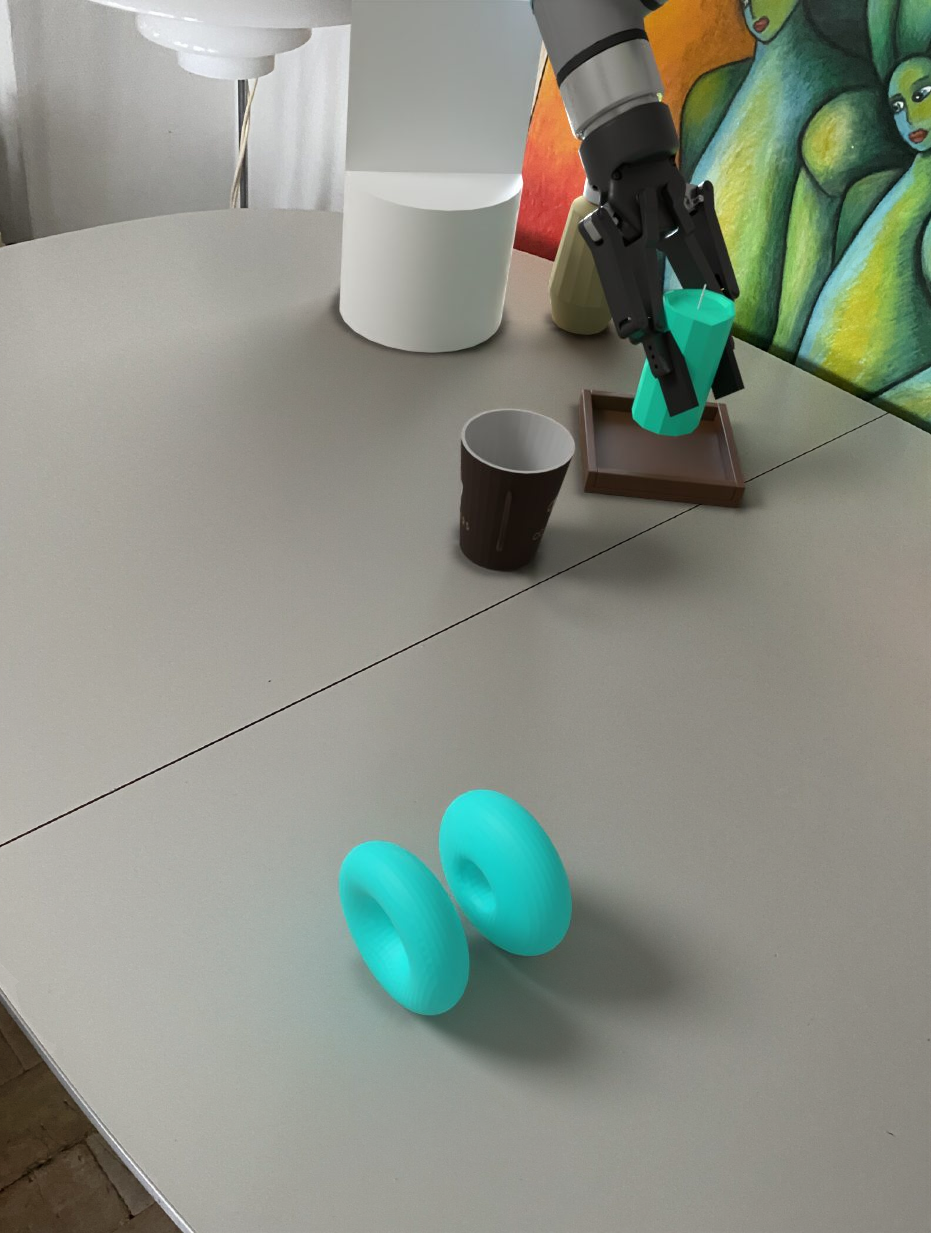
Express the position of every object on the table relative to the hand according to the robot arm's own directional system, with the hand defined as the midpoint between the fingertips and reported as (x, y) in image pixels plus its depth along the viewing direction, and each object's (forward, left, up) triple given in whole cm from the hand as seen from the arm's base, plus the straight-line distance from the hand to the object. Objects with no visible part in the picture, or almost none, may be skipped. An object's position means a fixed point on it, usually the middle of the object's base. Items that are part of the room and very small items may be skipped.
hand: (707, 402), depth 90 cm
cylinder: (+25, -26, -8) cm, 37 cm away
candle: (+2, -3, -4) cm, 5 cm away
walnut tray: (+2, -3, -7) cm, 8 cm away
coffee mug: (+17, +14, -8) cm, 24 cm away
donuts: (+19, +51, -8) cm, 55 cm away
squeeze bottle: (+8, -27, -8) cm, 29 cm away
